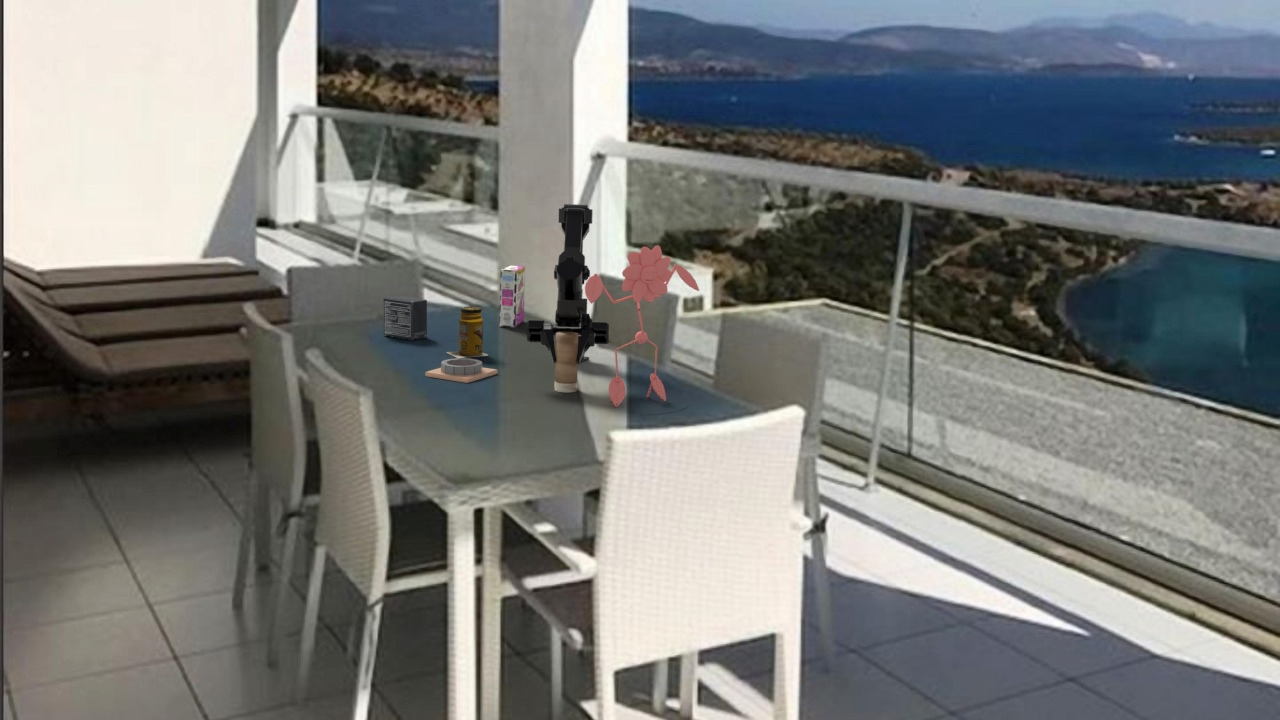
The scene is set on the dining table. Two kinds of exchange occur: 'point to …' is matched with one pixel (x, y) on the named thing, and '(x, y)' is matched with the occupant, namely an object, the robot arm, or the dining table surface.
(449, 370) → the collar
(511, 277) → the candy bar box
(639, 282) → the figurine
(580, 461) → the dining table surface
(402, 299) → the small box
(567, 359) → the brown cylinder
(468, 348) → the condiment
